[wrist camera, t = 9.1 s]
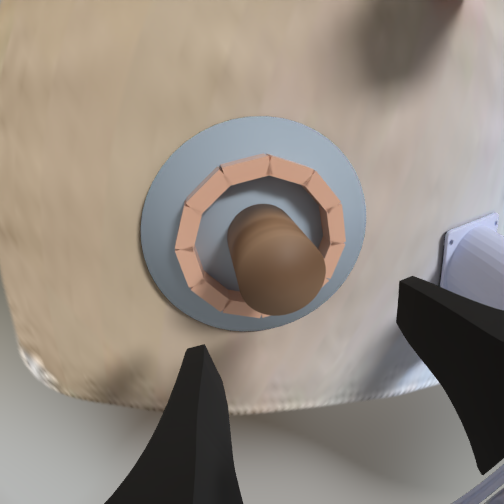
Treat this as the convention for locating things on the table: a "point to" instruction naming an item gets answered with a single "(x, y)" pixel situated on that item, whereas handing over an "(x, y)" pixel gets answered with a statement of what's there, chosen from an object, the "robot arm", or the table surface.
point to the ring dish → (237, 199)
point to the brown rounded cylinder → (274, 261)
